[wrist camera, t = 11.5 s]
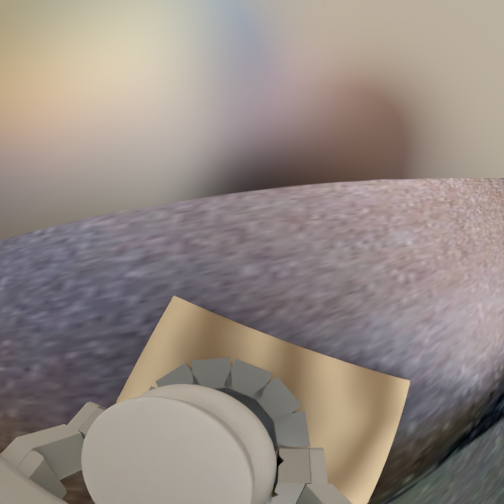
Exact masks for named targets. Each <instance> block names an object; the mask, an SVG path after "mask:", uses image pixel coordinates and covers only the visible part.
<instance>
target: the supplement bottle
mask: <svg viewBox="0 0 504 504" xmlns="http://www.w3.org/2000/svg"><path fill="white" fill-rule="evenodd" d="M81 466H82V472H83V477H84V481H85V484H86V486H87V489H88V491H89V493H90V495H91V497H92V499H93V501H94V502H95V504H265V503H266V501H267V500H268V498H269V496H270V494H271V492H272V490H273V487H274V483H275V479H276V471H277V463H276V454H275V450H274V447H273V442H272V440H271V438H270V436H269V434H268V432H267V430H266V428H265V427H264V425H263V424H262V422H261V421H260V420H259V419H258V417H257V416H256V415H255V414H254V413H253V412H252V411H251V410H250V409H249V408H247V407H246V406H245V405H244V404H242V403H241V402H239V401H238V400H236V399H235V398H233V397H231V396H229V395H227V394H225V393H223V392H220V391H218V390H215V389H212V388H208V387H204V386H199V385H191V384H172V385H167V386H162V387H158V388H155V389H152V390H149V391H147V392H145V393H143V394H142V395H140V396H138V397H135V398H131V399H127V400H124V401H121V402H119V403H117V404H115V405H113V406H111V407H109V408H108V409H106V410H105V411H104V412H102V413H101V414H100V415H99V416H98V417H97V418H96V420H95V421H94V422H93V423H92V425H91V427H90V428H89V430H88V432H87V434H86V437H85V439H84V442H83V447H82V455H81Z"/></svg>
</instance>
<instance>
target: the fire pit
mask: <svg viewBox="0 0 504 504" xmlns="http://www.w3.org/2000/svg"><path fill="white" fill-rule="evenodd" d="M271 374H272V372H269V371H266V370H264V369H261V368H258V367H256V366H253V365H251V364H248V363H246V362H243V361H241V360H239V359H235V362H234V364H233V366H232V363H231V361H230V358H218V359H206V360H192V368H191V367H190V366H189V365H188V364H187V363H184V364H182V365H181V366H179V367H178V368H176V369H175V370H173V371H171V372H170V373H168V374H167V375H165V376H163V377H162V378H160V379H159V380H157V381H155V382H156V384H157V386H158V387H162V386H167V385H172V384H191V385H199V386H204V387H208V388H212V389H215V390H218V391H220V392H223V393H225V394H227V395H229V396H231V397H233V398H235V399H236V400H238V401H239V402H241V403H242V404H244V405H245V406H246V407H247V408H249V409H250V410H251V411H252V412H253V413H254V414H255V415H256V416H257V417H258V419H259V420H260V421H261V422H262V424H263V425H264V427H265V428H266V430H267V432H268V434H269V436H270V438H271V440H272V442H273V447H274V450H275V454H276V458H277V450H278V447H279V446H289V447H310V441H309V434H308V428H307V422H306V416H305V411H300V412H295V410H296V409H298V408H299V407H300V406H301V403H300V402H299V401H298V400H297V399H296V398H295V397H294V395H293V394H292V393H291V392H290V391H289V390H288V388H287V387H286V386H285V385H284V384H283V383H282V381H281V380H280V379H279V378H278V377H276V378H275V379H273V380H272V381H271V382H270V381H269V379H270V376H271ZM152 389H155V387H152V386H151V387H150V389H149V390H152ZM265 504H270V496H269V498H268V500H267V501H266V503H265Z"/></svg>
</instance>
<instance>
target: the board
mask: <svg viewBox="0 0 504 504" xmlns="http://www.w3.org/2000/svg"><path fill="white" fill-rule="evenodd" d="M218 358H230V361H231V363H232V366H233V364H234V362H235V359H239V360H241V361H243V362H246V363H248V364H251V365H253V366H256V367H258V368H261V369H264V370H266V371H269V372H272V374H271V376H270V379H269V381H270V382H271V381H272V380H273V379H275V378H276V377H278V378H279V379H280V380H281V381H282V383H283V384H284V385H285V386H286V387H287V388H288V390H289V391H290V392H291V393H292V394H293V395H294V397H295V398H296V399H297V400H298V401H299V402H300V403H301V406H300V407H299V408H298V409H296V410H295V412H300V411H305V416H306V422H307V428H308V434H309V441H310V447H311V448H323V449H324V453H325V461H326V470H327V480H328V484H333V485H334V486H335V487H336V488H337V489H338V490H339V491H340V492H341V493H342V494H343V495H344V496H345V497H346V498H347V499H348V500H349V501H350V502H351V503H352V504H367V503H368V501H369V499H370V497H371V495H372V493H373V490H374V488H375V486H376V484H377V481H378V479H379V477H380V474H381V472H382V469H383V467H384V464H385V462H386V459H387V457H388V454H389V451H390V448H391V446H392V443H393V440H394V437H395V434H396V431H397V428H398V424H399V421H400V418H401V414H402V411H403V407H404V404H405V400H406V396H407V392H408V388H409V384H410V381H409V380H405V379H401V378H398V377H394V376H390V375H387V374H383V373H380V372H377V371H373V370H370V369H367V368H363V367H360V366H357V365H354V364H350V363H347V362H344V361H341V360H338V359H335V358H332V357H329V356H326V355H323V354H320V353H317V352H314V351H311V350H308V349H305V348H303V347H300V346H297V345H294V344H291V343H289V342H286V341H283V340H281V339H278V338H275V337H273V336H270V335H267V334H265V333H262V332H259V331H257V330H254V329H252V328H249V327H247V326H244V325H242V324H239V323H237V322H234V321H232V320H229V319H227V318H225V317H222V316H220V315H217V314H215V313H213V312H210V311H208V310H206V309H203V308H201V307H199V306H196V305H194V304H192V303H190V302H187V301H185V300H183V299H181V298H178V297H176V296H173V298H172V300H171V301H170V303H169V305H168V307H167V308H166V310H165V312H164V314H163V316H162V317H161V319H160V321H159V323H158V324H157V326H156V328H155V330H154V332H153V333H152V335H151V337H150V339H149V341H148V343H147V344H146V346H145V348H144V350H143V352H142V354H141V356H140V357H139V359H138V361H137V363H136V365H135V367H134V369H133V371H132V372H131V374H130V376H129V378H128V380H127V382H126V384H125V386H124V388H123V390H122V392H121V394H120V396H119V398H118V400H117V402H116V404H117V403H119V402H121V401H124V400H127V399H131V398H135V397H138V396H140V395H142V394H143V393H145V392H147V391H149V389H150V387H151V386H152V387H155V388H158V386H157V384H156V382H155V381H157V380H159V379H160V378H162V377H163V376H165V375H167V374H168V373H170V372H171V371H173V370H175V369H176V368H178V367H179V366H181V365H182V364H184V363H187V364H188V365H189V366H190V367H191V368H192V360H206V359H218Z"/></svg>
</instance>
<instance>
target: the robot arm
mask: <svg viewBox="0 0 504 504" xmlns="http://www.w3.org/2000/svg"><path fill="white" fill-rule="evenodd" d="M106 409H108V408H105V407H103V406H100V405H98V404H96V403H93V402H91V401H90V402H88V403H86V404H85V405H84V406H83V408H82V409H81V410H80V411H79V412H78V413H77V414H76V416H75V417H74V418H73V419H72V420H71V421H70V422H69V424H68V425H65V424H63V425H59V426H56V427H53V428H49V429H46V430H42V431H39V432H35V433H31V434H27V435H23V436H19V437H17V438H16V439H15V440H14V441H13V442H12V443H11V444H10V445H9V446H8V447H7V448H6V449H5V450H4V451H3V452H2V453H1V454H0V504H68V503H67V502H65V501H63V500H62V499H63V497H64V496H65V494H66V492H67V491H66V489H65V487H64V486H63V485H62V483H61V482H60V480H61V479H63V478H65V477H67V476H69V475H71V474H73V473H76V472H78V471H80V470H82V466H81V455H82V447H83V442H84V439H85V437H86V434H87V432H88V430H89V428H90V427H91V425H92V423H93V422H94V421H95V420H96V418H97V417H98V416H99V415H100V414H101V413H102V412H104V411H105V410H106ZM276 463H277V471H276V479H275V483H274V487H273V490H272V492H271V494H270V504H352V503H351V502H350V501H349V500H348V499H347V498H346V497H345V496H344V495H343V494H342V493H341V492H340V491H339V490H338V489H337V488H336V487H335V486H334V485H333V484H328V480H327V470H326V461H325V453H324V449H323V448H311V447H289V446H279V447H278V450H277V458H276Z"/></svg>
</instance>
